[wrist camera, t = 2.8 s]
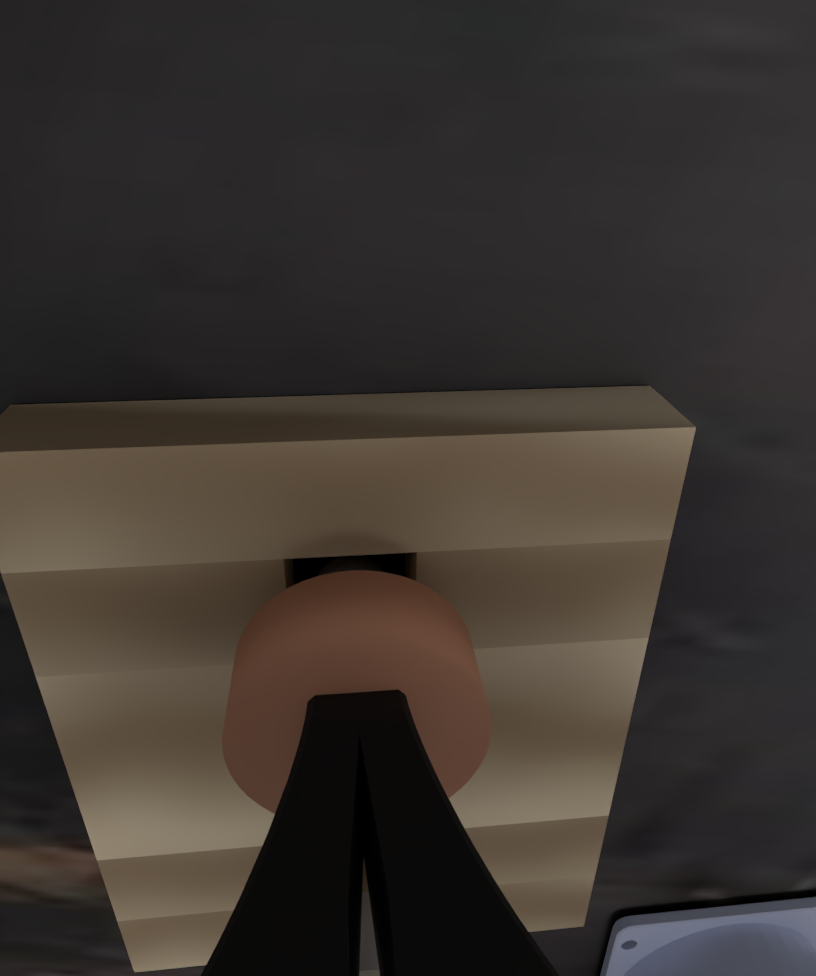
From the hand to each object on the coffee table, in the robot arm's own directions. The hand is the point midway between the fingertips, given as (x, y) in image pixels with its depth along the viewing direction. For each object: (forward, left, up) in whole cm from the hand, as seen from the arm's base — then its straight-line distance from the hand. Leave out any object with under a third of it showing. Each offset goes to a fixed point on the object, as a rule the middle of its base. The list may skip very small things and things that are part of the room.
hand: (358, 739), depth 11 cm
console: (-4, 0, -5) cm, 6 cm away
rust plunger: (0, 0, -4) cm, 4 cm away
